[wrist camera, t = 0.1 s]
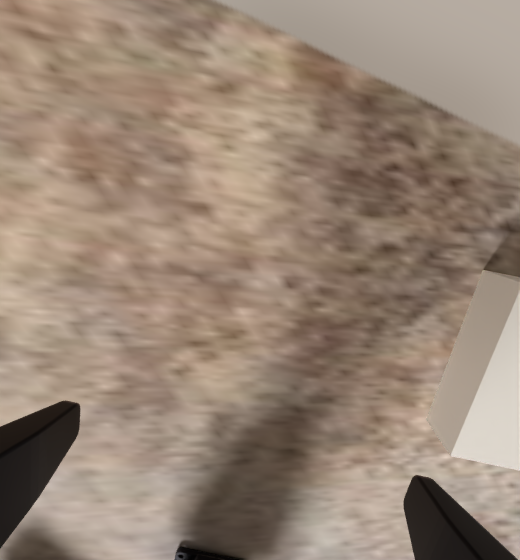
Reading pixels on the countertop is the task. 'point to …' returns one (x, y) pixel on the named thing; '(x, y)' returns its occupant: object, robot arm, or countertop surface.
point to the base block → (483, 378)
